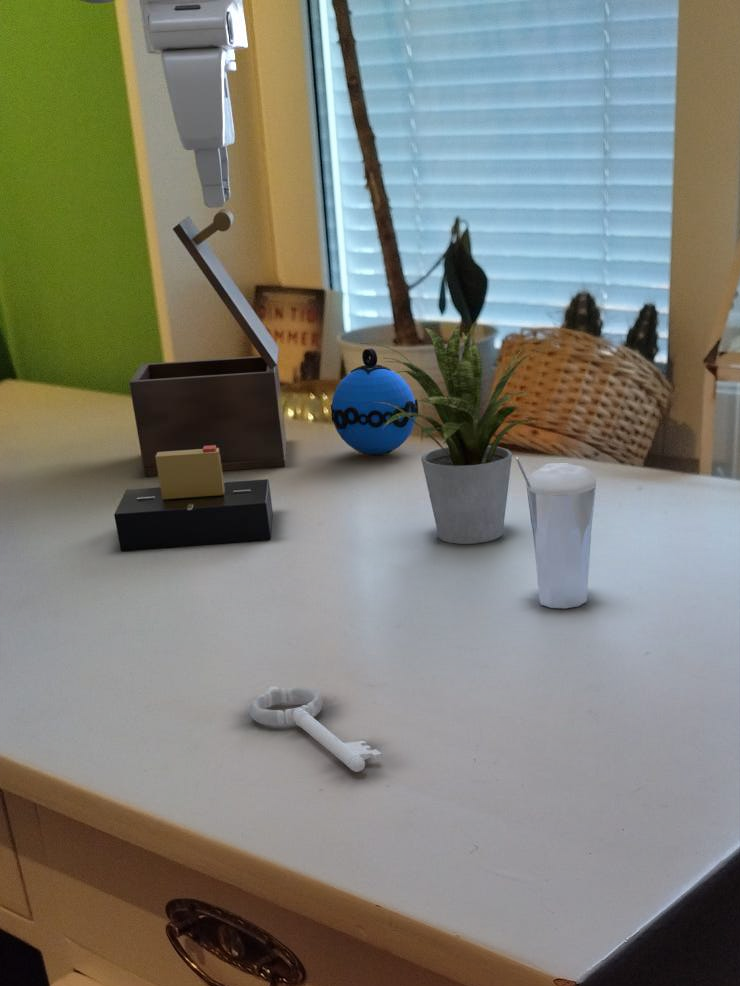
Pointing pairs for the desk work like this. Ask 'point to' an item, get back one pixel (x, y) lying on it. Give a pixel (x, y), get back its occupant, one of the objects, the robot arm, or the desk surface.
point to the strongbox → (211, 411)
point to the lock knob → (190, 473)
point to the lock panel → (194, 517)
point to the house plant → (464, 444)
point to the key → (309, 722)
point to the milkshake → (561, 531)
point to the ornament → (373, 407)
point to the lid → (226, 282)
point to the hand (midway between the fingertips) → (218, 204)
